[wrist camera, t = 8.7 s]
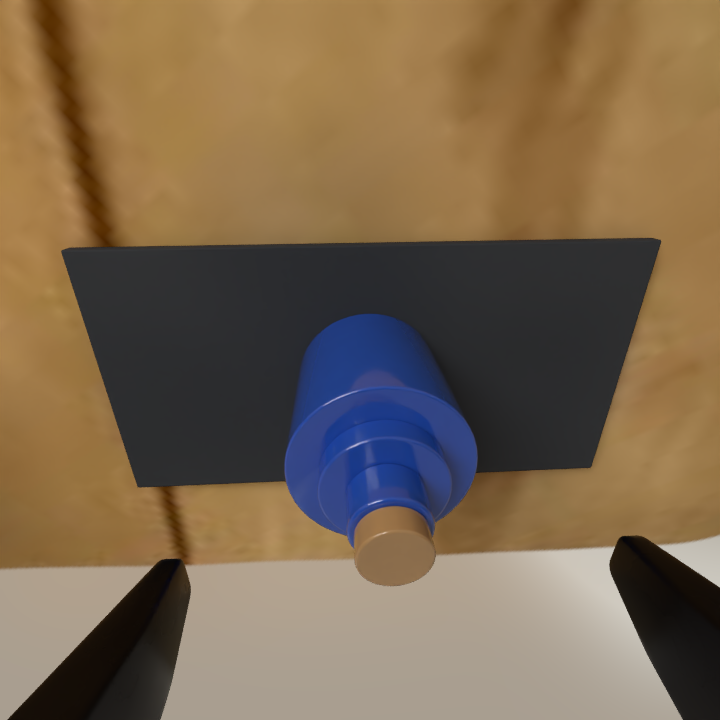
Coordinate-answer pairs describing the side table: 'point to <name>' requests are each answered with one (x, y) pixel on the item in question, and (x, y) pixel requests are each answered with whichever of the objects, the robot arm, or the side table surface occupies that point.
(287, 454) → the flask
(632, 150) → the side table surface
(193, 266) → the mat
